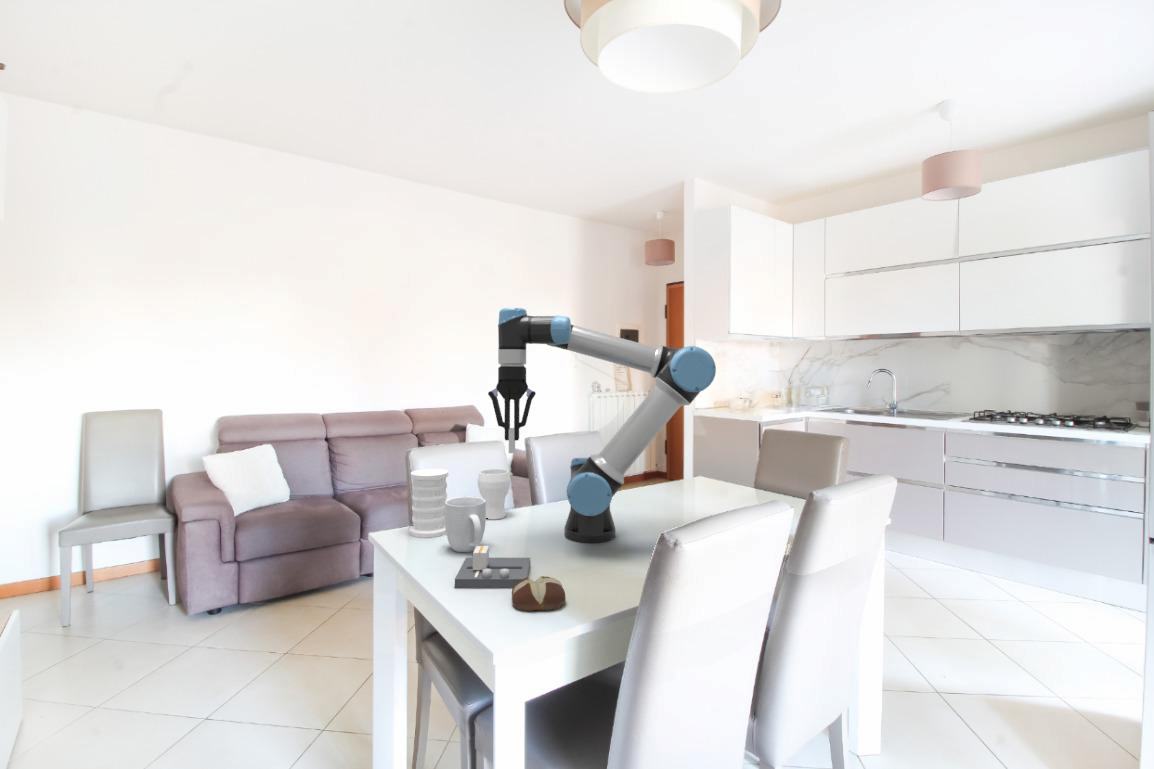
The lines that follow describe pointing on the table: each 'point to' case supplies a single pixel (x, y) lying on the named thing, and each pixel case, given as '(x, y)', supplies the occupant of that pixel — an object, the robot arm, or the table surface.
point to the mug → (465, 522)
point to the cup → (494, 491)
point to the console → (493, 573)
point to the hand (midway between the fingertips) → (511, 452)
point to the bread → (538, 594)
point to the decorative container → (429, 502)
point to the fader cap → (480, 557)
